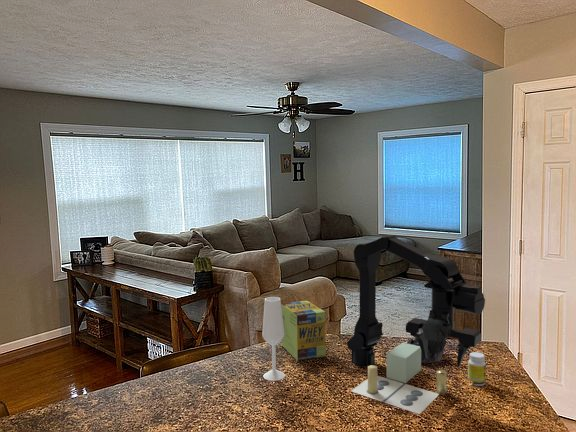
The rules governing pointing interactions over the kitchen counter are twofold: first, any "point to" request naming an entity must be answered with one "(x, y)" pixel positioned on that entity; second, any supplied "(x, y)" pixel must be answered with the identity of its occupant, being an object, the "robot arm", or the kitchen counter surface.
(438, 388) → the brass pin
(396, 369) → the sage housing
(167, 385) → the kitchen counter surface
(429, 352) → the black rough lump
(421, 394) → the board
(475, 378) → the supplement bottle
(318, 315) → the protein box
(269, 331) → the champagne flute
